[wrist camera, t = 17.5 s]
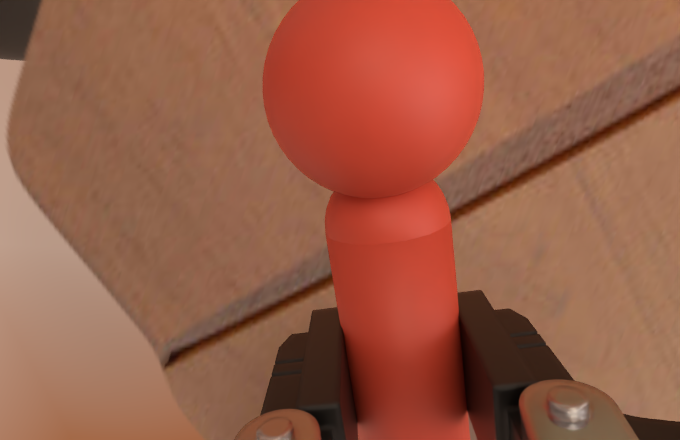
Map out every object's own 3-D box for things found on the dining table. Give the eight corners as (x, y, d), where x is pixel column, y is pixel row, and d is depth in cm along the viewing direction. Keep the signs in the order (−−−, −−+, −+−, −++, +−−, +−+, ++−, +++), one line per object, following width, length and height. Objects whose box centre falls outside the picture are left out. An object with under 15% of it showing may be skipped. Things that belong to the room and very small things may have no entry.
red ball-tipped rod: (488, 471, 12) (542, 625, 9) (347, 485, 12) (345, 640, 9) (449, -21, 9) (508, -88, 6) (265, 9, 9) (213, -36, 6)
